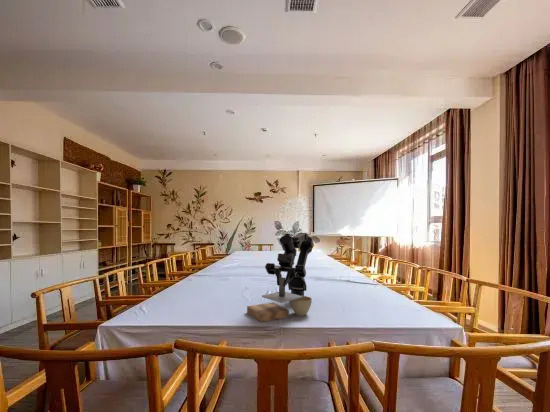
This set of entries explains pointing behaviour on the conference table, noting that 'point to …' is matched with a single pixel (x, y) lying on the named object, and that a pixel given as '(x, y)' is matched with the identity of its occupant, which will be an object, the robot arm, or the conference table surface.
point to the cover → (281, 294)
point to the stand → (267, 312)
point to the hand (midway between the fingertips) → (281, 285)
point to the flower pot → (301, 305)
